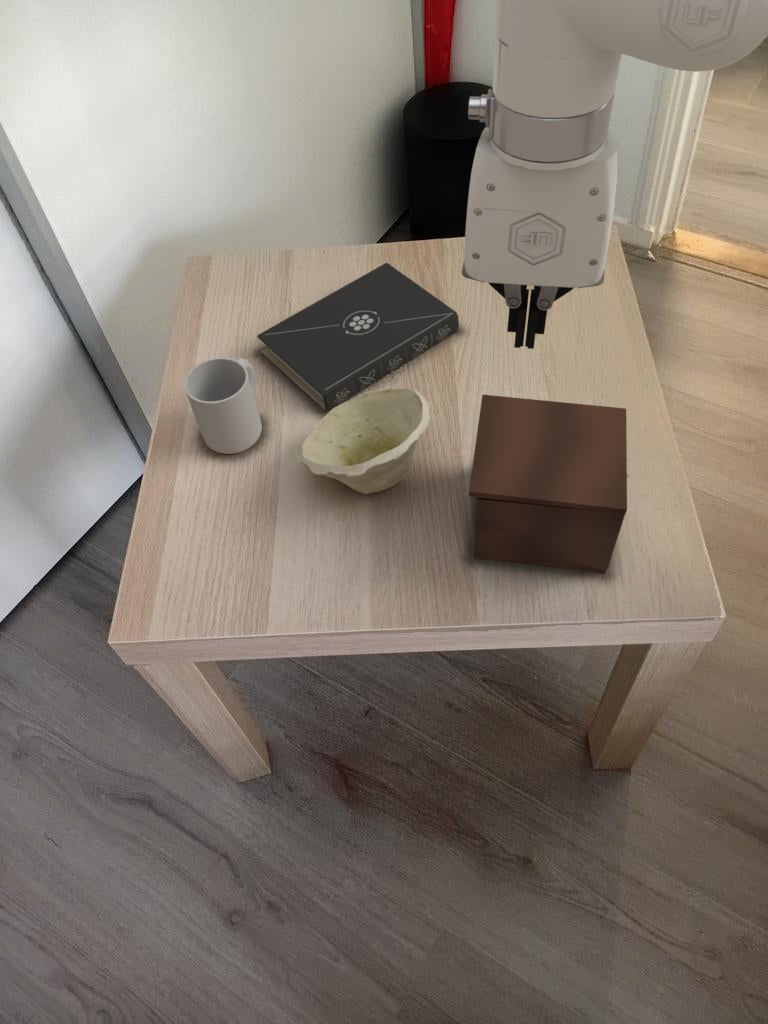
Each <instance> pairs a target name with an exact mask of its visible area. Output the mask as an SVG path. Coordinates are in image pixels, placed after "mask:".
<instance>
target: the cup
mask: <svg viewBox="0 0 768 1024" xmlns="http://www.w3.org/2000/svg"><path fill="white" fill-rule="evenodd" d="M256 376H257V375H256V372H255V369H254V367H253V365H252V363H250V361H248V360H247V359H246V358H237V359H235V358H231V357H213V358H209V359H206V360H203V361H201V362H199V363H198V364H196V365H195V366H193V367H192V368H191V369H190V370H189V371H188V373H187V374H186V376H185V378H184V382H183V386H184V391H185V394H186V396H187V399H188V402H189V404H190V407H191V410H192V413H193V415H194V419H195V421H196V424H197V426H198V429H199V431H200V434H201V436H202V439H203V441H204V443H205V444H206V445H207V447H208V448H210V450H212V451H214V452H216V453H219V454H225V455H234V454H240V453H242V452H245V451H247V450H249V449H250V448H252V446H254V445H255V444H256V442H258V440H259V439H260V436H261V434H262V429H263V424H262V419H261V415H260V412H259V408H258V403H257V401H256V397H255V396H256V392H257V377H256Z"/></svg>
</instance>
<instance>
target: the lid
mask: <svg viewBox="0 0 768 1024" xmlns="http://www.w3.org/2000/svg"><path fill="white" fill-rule="evenodd" d="M476 430H477V432H476V439H475V446H474V453H473V460H472V468H471V473H470V474H471V475H470V481H469V490H468V497H472V498H477V497H480V498H488V499H497V500H506V501H514V502H523V503H532V504H541V505H549V506H558V507H567V508H575V509H584V510H593V511H602V512H610V513H619V514H625V515H626V513H627V510H628V459H627V458H628V455H627V454H628V451H627V449H628V446H627V441H628V440H627V439H628V438H627V435H628V434H627V408H625V407H615V406H604V405H594V404H584V403H574V402H565V401H564V402H563V401H552V400H544V399H532V398H523V397H512V396H504V395H503V396H502V395H493V394H492V395H491V394H482V395H481V402H480V410H479V416H478V425H477V429H476Z"/></svg>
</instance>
